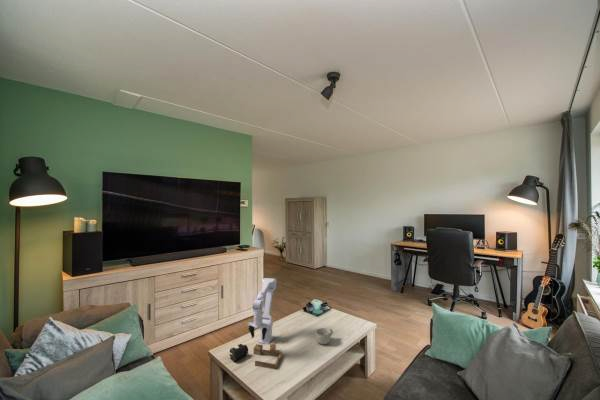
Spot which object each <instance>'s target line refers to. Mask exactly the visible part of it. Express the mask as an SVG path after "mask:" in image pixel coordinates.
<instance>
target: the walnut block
mask: <svg viewBox="0 0 600 400" xmlns="http://www.w3.org/2000/svg"><path fill="white" fill-rule="evenodd" d="M263 350H264V347H263V344H261V343H256V344H255V345H254V347H253V355H256V356H261V355H262V354H263Z"/></svg>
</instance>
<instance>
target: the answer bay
mask: <svg viewBox="0 0 600 400" xmlns="http://www.w3.org/2000/svg"><path fill="white" fill-rule="evenodd" d="M262 354H263V355H266V356H271V357H277V358H276V360H275V362H274V363H271V362H266V361H261V360H255V361H254V366H256V367H261V368H266V369H267V368H268V369H271V370H276V369H277V367H278V365H279V364H280V362H281V360H282V358H283V352H280V351H276V352H275V351H270V349H263V352H262Z"/></svg>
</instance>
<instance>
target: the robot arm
mask: <svg viewBox="0 0 600 400" xmlns="http://www.w3.org/2000/svg"><path fill="white" fill-rule="evenodd" d="M261 282H262V283H261V284H262V289H261V291H259V292H258V294H257V296H256V298H255V299H254V300H253V301H252V311H253V322H250V321H249V322H247V327H248V331H249V332H250V336H251V339H253V338H254V337H255V329H259V330H260V338H259V340H258V344H264V345H265V344H266V345H270V343H271V342H272V340H273V339H274V336H273V325H274V317H273V316H272V315H271V309H272V301H273V294H274V292H275V291H276V289H277V284H278V283H277V282H278V281H277V279H276V278H272V277H271V278H268V277H264V278H262V281H261Z"/></svg>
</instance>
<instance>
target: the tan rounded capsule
mask: <svg viewBox="0 0 600 400" xmlns="http://www.w3.org/2000/svg"><path fill="white" fill-rule="evenodd" d="M269 351H275V352H277V344H276V342H270V343H269Z"/></svg>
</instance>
